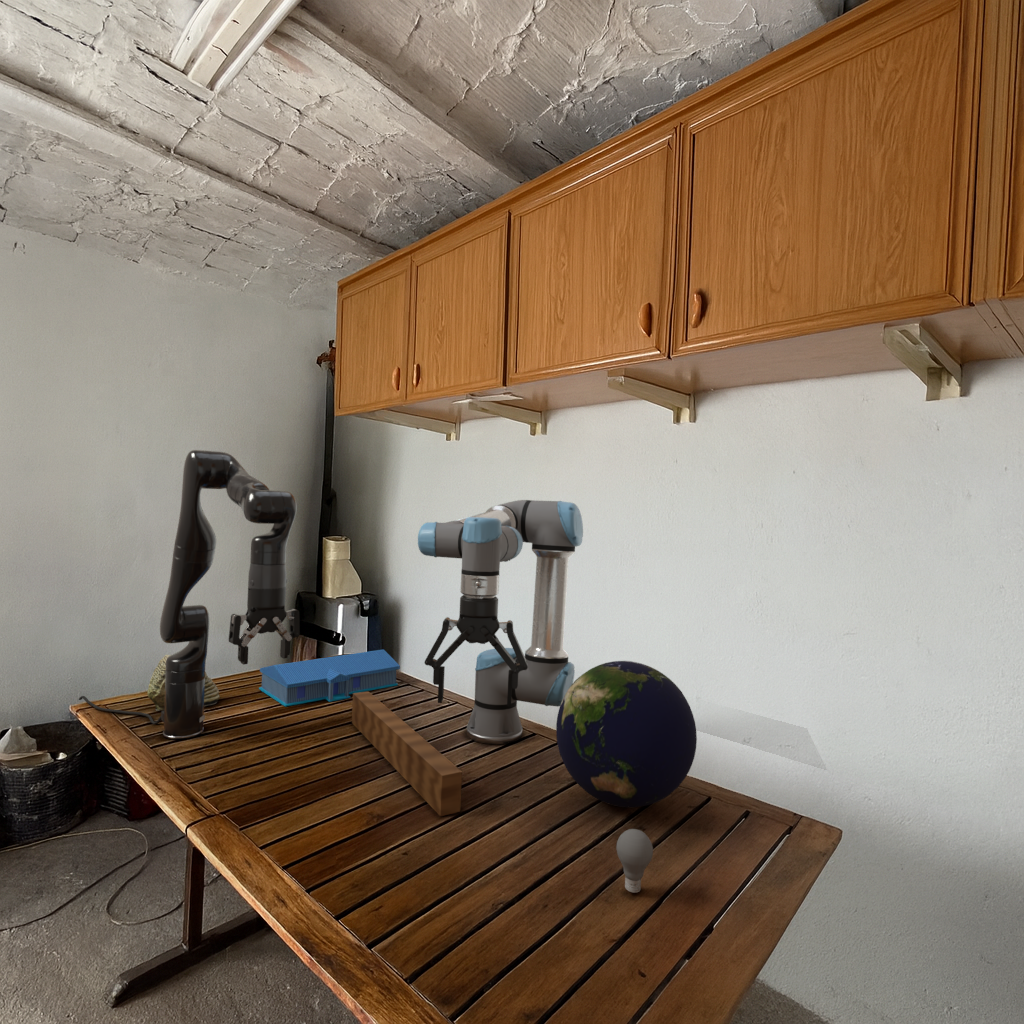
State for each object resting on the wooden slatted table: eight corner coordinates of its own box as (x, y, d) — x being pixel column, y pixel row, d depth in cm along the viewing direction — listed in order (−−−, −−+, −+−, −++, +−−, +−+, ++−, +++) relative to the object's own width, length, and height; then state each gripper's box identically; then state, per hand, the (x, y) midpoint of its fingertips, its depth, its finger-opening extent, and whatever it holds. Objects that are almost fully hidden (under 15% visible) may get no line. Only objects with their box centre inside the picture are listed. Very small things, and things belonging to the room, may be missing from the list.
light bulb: (610, 879, 108) (613, 822, 108) (644, 879, 109) (647, 822, 109) (619, 902, 102) (622, 840, 102) (655, 901, 103) (658, 840, 103)
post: (351, 722, 178) (352, 693, 178) (367, 720, 180) (368, 691, 180) (440, 816, 128) (442, 775, 127) (460, 811, 130) (462, 771, 130)
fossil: (144, 707, 182) (145, 655, 182) (212, 696, 194) (213, 647, 194) (151, 716, 175) (153, 662, 175) (221, 703, 188) (223, 653, 188)
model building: (289, 709, 186) (291, 675, 185) (258, 688, 204) (259, 657, 204) (403, 687, 212) (405, 657, 212) (366, 670, 230) (368, 643, 230)
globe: (533, 814, 130) (540, 669, 129) (575, 761, 157) (580, 641, 157) (683, 851, 118) (691, 691, 118) (699, 786, 146) (706, 657, 146)
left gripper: (291, 580, 142) (288, 652, 142) (226, 584, 132) (223, 661, 132) (307, 584, 136) (304, 659, 137) (239, 589, 126) (236, 669, 127)
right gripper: (413, 595, 121) (408, 705, 122) (543, 601, 121) (538, 712, 121) (419, 589, 129) (415, 693, 129) (542, 595, 128) (537, 699, 129)
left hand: (264, 660), depth 134 cm, fingers open, 8 cm apart
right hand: (474, 702), depth 125 cm, fingers open, 13 cm apart
